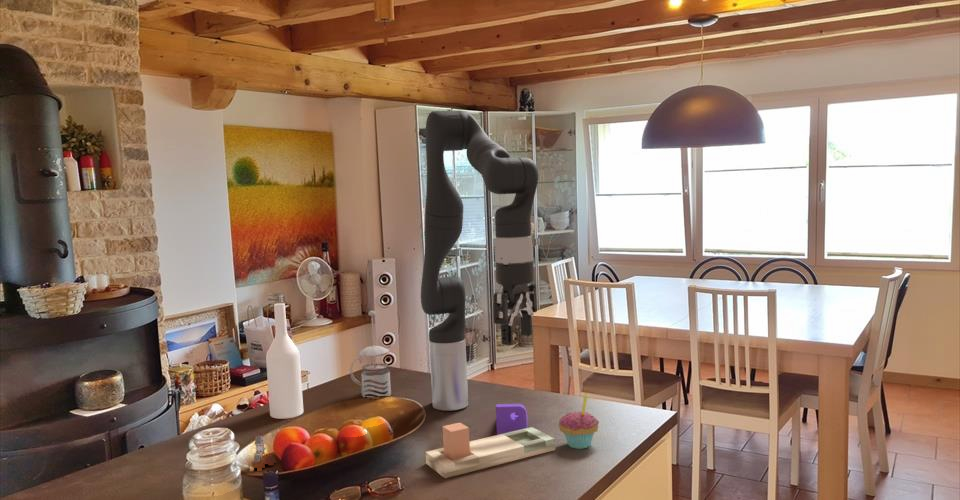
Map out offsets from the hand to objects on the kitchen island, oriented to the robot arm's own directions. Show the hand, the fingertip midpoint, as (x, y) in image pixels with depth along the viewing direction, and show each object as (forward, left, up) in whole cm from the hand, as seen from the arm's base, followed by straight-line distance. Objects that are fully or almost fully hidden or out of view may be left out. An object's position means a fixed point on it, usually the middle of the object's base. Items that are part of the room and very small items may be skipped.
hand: (517, 339), depth 139 cm
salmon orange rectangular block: (-7, -11, -25) cm, 28 cm away
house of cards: (-26, -45, -26) cm, 58 cm away
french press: (-60, -10, -26) cm, 66 cm away
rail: (-7, -3, -26) cm, 27 cm away
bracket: (-21, +10, -26) cm, 35 cm away
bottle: (-57, -34, -26) cm, 71 cm away
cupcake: (-2, +16, -26) cm, 30 cm away
